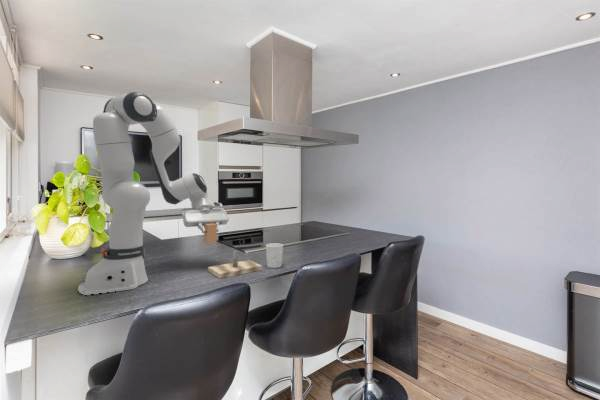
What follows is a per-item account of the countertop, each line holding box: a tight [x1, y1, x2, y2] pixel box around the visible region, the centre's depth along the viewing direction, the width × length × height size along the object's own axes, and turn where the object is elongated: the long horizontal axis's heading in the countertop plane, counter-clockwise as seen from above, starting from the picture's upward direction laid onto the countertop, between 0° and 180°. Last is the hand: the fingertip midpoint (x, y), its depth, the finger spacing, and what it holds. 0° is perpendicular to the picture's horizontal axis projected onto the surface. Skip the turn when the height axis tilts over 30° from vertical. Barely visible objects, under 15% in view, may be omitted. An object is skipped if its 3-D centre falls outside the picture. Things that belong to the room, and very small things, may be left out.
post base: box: [207, 250, 263, 280], centre depth 132 cm, size 20×12×9 cm, turn 129°
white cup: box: [265, 242, 284, 269], centre depth 140 cm, size 8×8×10 cm
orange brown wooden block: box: [203, 223, 218, 244], centre depth 134 cm, size 4×4×8 cm
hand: (210, 231), depth 134 cm, fingers closed on orange brown wooden block, 4 cm apart
